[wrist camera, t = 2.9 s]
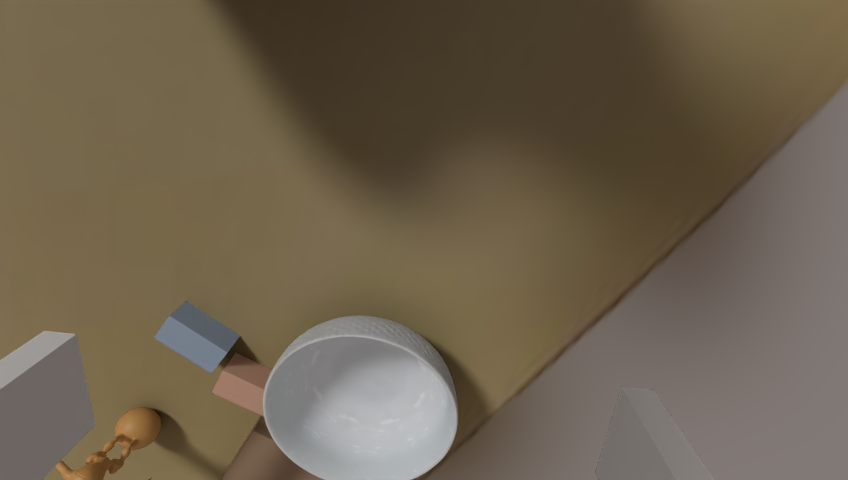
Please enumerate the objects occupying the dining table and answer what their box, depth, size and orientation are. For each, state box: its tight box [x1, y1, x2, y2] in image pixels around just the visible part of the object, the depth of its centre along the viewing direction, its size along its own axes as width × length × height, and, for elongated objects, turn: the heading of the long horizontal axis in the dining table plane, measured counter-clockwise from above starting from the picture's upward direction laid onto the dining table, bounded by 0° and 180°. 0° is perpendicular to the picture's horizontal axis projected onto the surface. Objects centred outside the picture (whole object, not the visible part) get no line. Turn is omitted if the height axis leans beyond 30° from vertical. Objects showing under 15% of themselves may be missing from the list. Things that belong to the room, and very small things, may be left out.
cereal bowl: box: [263, 315, 458, 480], centre depth 41 cm, size 17×17×7 cm
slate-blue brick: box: [154, 301, 240, 373], centre depth 42 cm, size 6×3×3 cm, turn 51°
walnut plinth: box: [221, 415, 324, 480], centre depth 48 cm, size 10×10×3 cm
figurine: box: [55, 407, 161, 480], centre depth 42 cm, size 8×6×12 cm
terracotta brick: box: [212, 353, 272, 416], centre depth 44 cm, size 6×3×3 cm, turn 60°
